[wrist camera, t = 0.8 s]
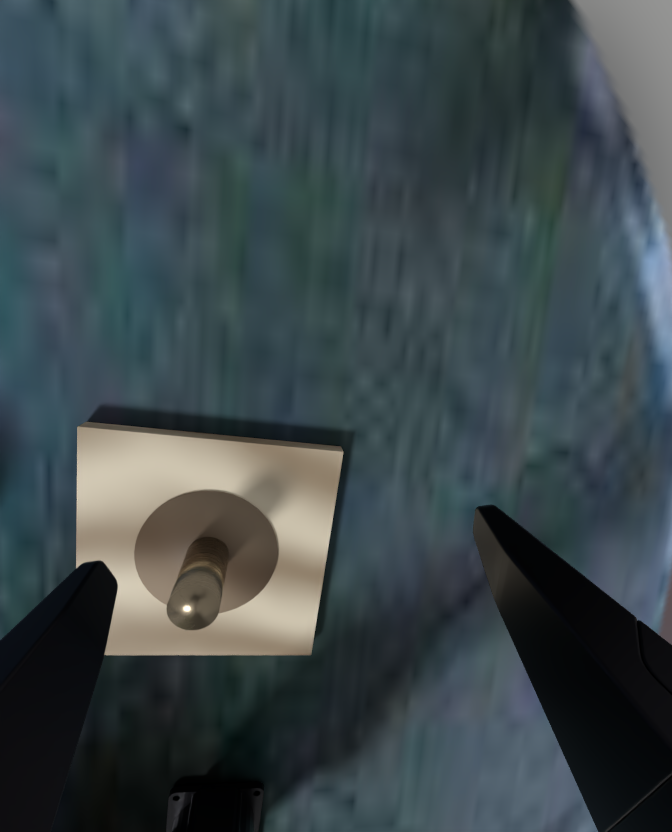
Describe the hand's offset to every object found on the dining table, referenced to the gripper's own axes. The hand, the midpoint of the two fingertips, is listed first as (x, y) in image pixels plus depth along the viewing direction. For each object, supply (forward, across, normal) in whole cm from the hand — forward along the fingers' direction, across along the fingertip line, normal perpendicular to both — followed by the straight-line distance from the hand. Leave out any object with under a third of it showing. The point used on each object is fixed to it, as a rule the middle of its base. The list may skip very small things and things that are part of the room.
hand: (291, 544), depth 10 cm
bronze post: (+10, +7, +11) cm, 17 cm away
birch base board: (+10, +7, +11) cm, 17 cm away
